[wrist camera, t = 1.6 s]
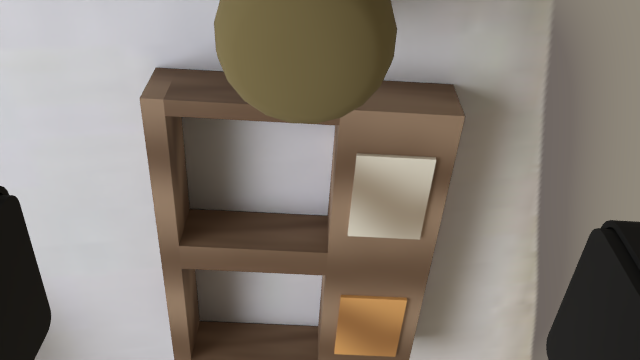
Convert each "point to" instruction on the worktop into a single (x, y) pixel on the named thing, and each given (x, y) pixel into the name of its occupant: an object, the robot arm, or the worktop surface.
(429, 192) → the socket block
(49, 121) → the worktop surface
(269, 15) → the olive piece
